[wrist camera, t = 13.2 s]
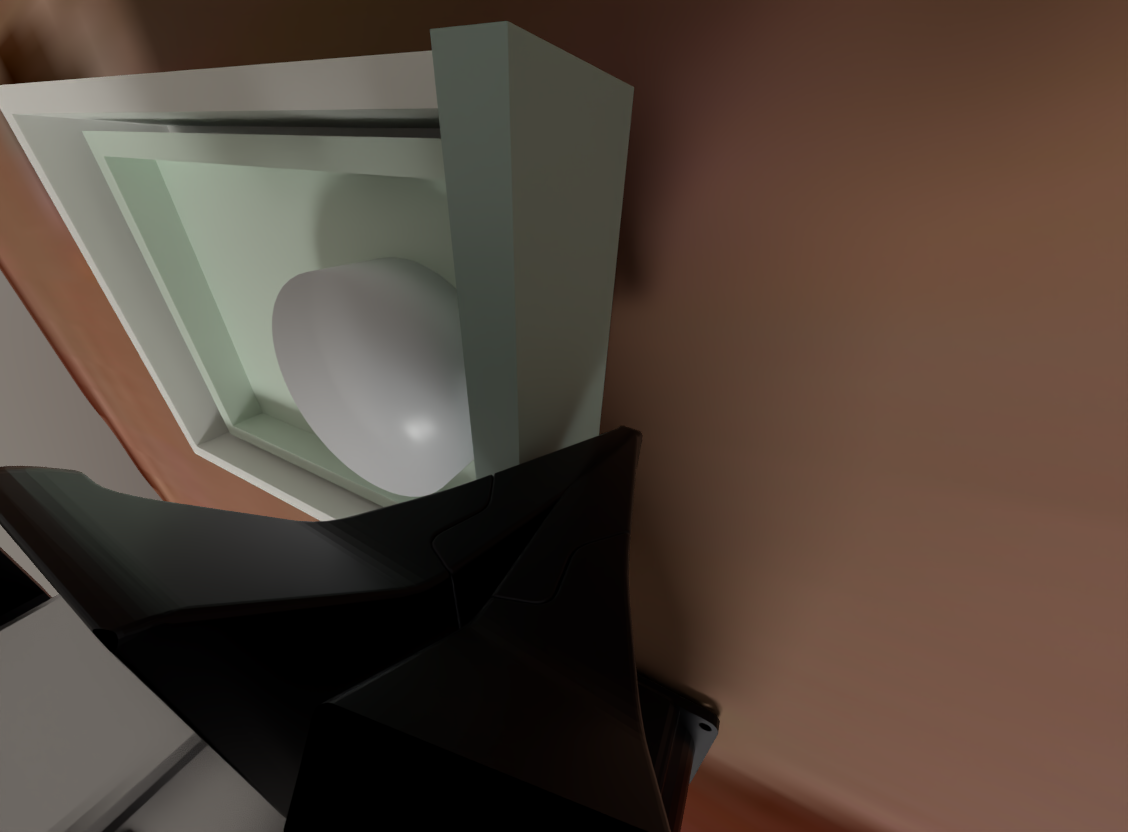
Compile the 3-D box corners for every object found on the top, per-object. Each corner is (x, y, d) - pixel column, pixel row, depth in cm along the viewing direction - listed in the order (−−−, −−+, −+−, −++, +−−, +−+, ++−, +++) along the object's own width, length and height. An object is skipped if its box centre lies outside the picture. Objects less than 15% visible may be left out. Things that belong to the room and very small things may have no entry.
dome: (535, 457, 11) (494, 502, 10) (394, 457, 14) (346, 491, 13) (455, 227, 9) (384, 236, 7) (308, 285, 12) (236, 301, 10)
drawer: (586, 555, 14) (524, 665, 11) (287, 426, 19) (191, 473, 16) (634, 87, 7) (507, 21, 4) (159, 102, 13) (-43, 79, 10)
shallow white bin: (572, 517, 15) (505, 619, 12) (294, 407, 21) (194, 453, 17) (601, 98, 8) (464, 47, 5) (183, 107, 14) (-13, 86, 11)
